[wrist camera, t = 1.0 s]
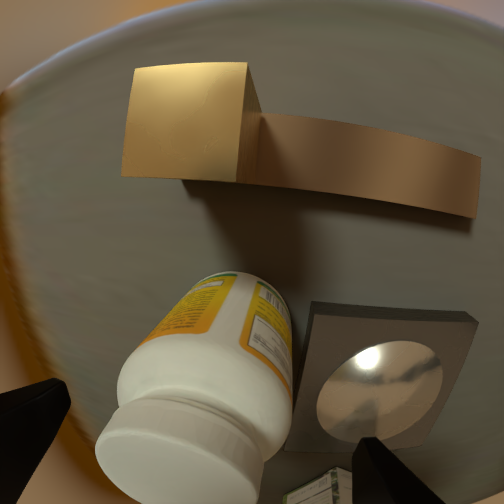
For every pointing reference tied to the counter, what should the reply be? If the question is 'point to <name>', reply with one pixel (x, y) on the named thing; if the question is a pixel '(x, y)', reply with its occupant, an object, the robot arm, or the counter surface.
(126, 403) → the supplement bottle
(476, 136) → the counter surface
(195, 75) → the handle
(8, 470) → the robot arm
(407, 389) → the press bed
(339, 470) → the syrup box
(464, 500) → the counter surface
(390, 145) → the rail
